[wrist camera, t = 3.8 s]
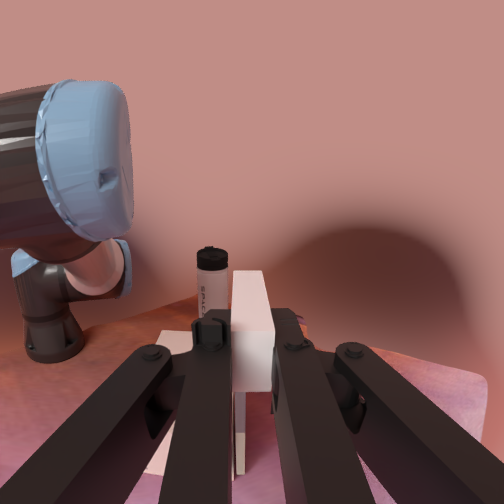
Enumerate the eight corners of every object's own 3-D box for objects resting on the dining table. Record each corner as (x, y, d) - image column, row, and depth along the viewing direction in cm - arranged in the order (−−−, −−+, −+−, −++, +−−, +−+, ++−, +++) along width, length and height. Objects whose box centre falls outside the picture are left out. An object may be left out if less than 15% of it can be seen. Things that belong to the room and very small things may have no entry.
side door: (244, 474, 29) (246, 371, 24) (236, 474, 29) (234, 371, 24) (243, 416, 40) (244, 314, 35) (236, 417, 40) (235, 314, 35)
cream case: (233, 480, 28) (232, 436, 26) (141, 472, 28) (121, 425, 25) (234, 379, 50) (234, 332, 47) (168, 376, 49) (162, 330, 47)
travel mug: (223, 329, 68) (222, 245, 63) (232, 343, 62) (232, 253, 57) (197, 332, 65) (193, 247, 60) (203, 347, 60) (199, 255, 54)
